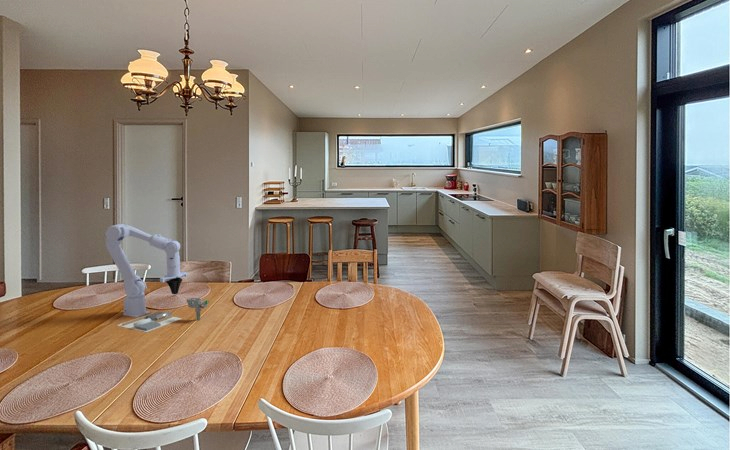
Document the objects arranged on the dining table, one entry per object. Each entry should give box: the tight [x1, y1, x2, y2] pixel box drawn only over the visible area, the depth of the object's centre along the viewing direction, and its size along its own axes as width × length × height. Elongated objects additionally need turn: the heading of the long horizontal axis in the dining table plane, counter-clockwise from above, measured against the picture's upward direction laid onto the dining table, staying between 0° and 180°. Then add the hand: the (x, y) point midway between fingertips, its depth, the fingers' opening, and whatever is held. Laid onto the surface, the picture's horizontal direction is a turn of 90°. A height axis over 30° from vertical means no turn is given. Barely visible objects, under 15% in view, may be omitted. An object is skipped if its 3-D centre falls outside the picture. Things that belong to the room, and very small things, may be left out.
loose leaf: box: [146, 310, 173, 320], centre depth 202 cm, size 8×7×2 cm
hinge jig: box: [116, 312, 183, 333], centre depth 196 cm, size 19×19×3 cm
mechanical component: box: [186, 297, 210, 321], centre depth 199 cm, size 3×10×10 cm, turn 78°
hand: (174, 293), depth 209 cm, fingers closed
